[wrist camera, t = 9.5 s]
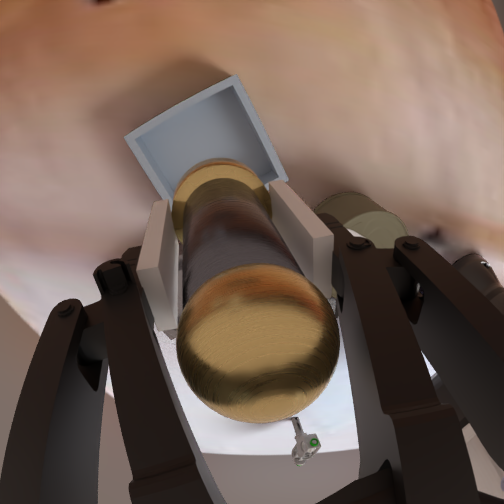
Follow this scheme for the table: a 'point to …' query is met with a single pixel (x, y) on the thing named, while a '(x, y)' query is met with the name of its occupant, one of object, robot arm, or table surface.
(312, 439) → the mechanical component
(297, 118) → the table surface
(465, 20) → the table surface
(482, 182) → the table surface
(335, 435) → the table surface
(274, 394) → the strut
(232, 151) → the tray
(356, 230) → the can
